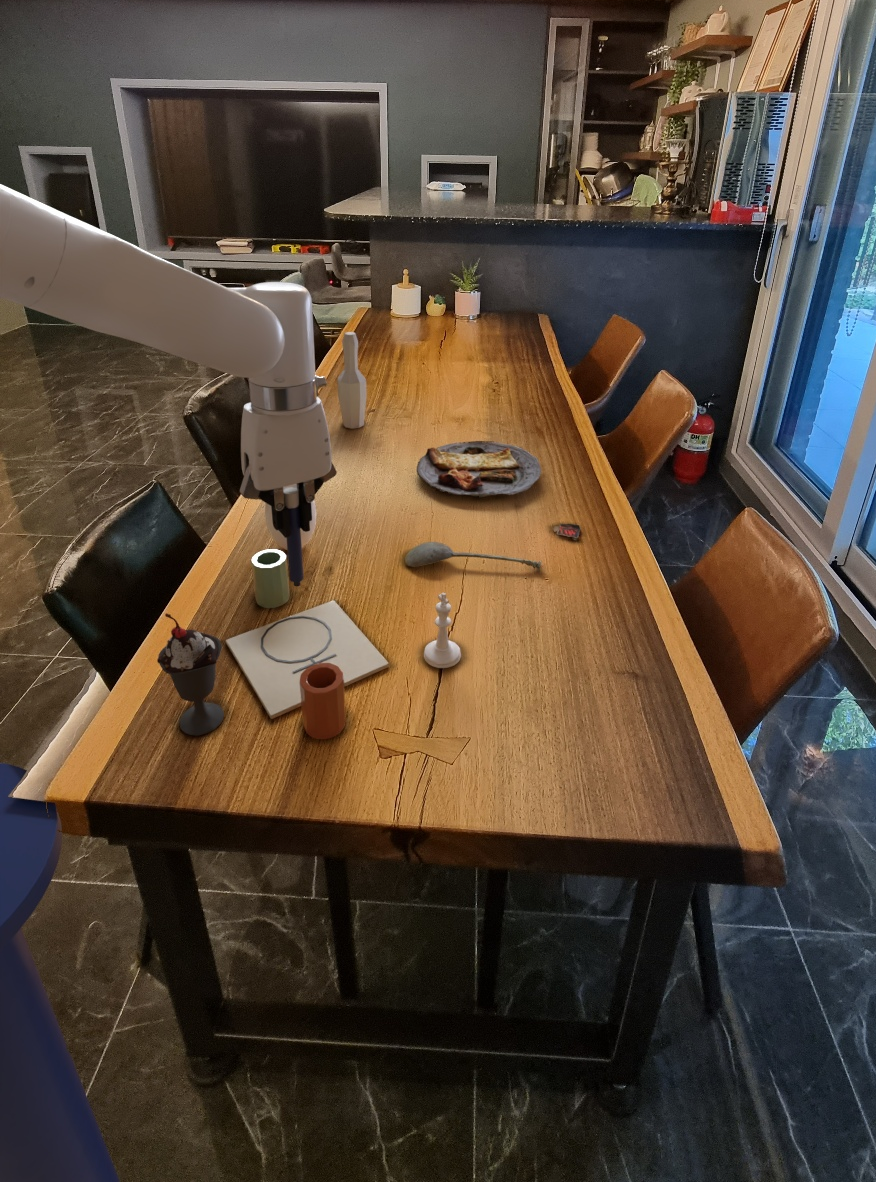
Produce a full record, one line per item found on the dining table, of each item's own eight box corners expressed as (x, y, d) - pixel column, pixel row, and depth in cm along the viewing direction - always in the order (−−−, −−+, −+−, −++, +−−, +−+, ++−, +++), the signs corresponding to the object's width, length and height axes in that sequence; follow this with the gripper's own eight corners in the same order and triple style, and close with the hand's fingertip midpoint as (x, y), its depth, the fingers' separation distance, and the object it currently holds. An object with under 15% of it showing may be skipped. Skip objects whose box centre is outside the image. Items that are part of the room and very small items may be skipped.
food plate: (415, 503, 129) (415, 486, 128) (417, 451, 150) (417, 436, 149) (548, 503, 130) (549, 487, 129) (531, 451, 151) (532, 437, 150)
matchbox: (579, 525, 123) (579, 522, 123) (582, 540, 119) (582, 538, 118) (552, 524, 123) (552, 521, 123) (555, 539, 119) (555, 537, 119)
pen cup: (263, 612, 99) (258, 571, 96) (251, 595, 103) (246, 555, 100) (294, 601, 102) (291, 561, 99) (282, 584, 105) (278, 545, 102)
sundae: (170, 706, 83) (150, 604, 76) (228, 692, 85) (214, 592, 79) (171, 748, 77) (149, 642, 71) (233, 732, 79) (218, 628, 73)
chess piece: (437, 673, 89) (438, 610, 85) (416, 652, 92) (416, 590, 88) (468, 658, 92) (470, 596, 87) (446, 638, 95) (448, 578, 91)
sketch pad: (271, 719, 81) (270, 715, 81) (226, 643, 93) (225, 639, 93) (389, 666, 90) (389, 662, 89) (334, 603, 102) (333, 599, 101)
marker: (293, 590, 90) (286, 495, 84) (287, 583, 91) (280, 489, 86) (306, 586, 91) (300, 491, 85) (300, 579, 92) (294, 485, 87)
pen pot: (314, 746, 78) (310, 699, 75) (297, 718, 81) (293, 673, 79) (352, 727, 80) (350, 681, 78) (334, 702, 84) (331, 657, 81)
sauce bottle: (291, 566, 110) (282, 464, 102) (259, 549, 114) (248, 450, 106) (327, 546, 115) (321, 448, 108) (296, 530, 120) (288, 435, 112)
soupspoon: (409, 550, 116) (401, 574, 110) (408, 533, 114) (400, 557, 109) (540, 558, 113) (540, 583, 108) (541, 541, 112) (541, 565, 106)
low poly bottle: (334, 423, 163) (329, 332, 154) (356, 417, 167) (353, 328, 158) (349, 432, 159) (346, 338, 150) (372, 425, 163) (369, 334, 153)
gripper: (331, 373, 87) (336, 502, 95) (204, 394, 79) (221, 533, 86) (359, 390, 82) (362, 526, 89) (226, 415, 73) (242, 562, 81)
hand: (293, 528), depth 88 cm, fingers closed on marker, 2 cm apart
